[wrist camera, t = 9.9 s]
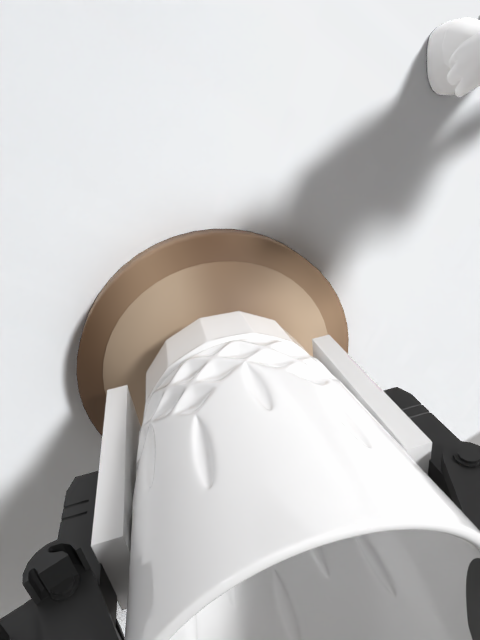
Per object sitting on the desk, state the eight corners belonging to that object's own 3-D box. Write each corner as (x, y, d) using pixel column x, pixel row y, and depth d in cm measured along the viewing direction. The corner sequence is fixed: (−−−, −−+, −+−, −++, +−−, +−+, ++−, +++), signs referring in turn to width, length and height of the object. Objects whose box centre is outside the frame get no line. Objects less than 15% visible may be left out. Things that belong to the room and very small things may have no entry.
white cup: (332, 415, 19) (507, 667, 10) (174, 483, 18) (210, 813, 9) (291, 264, 15) (511, 450, 6) (91, 344, 15) (25, 668, 6)
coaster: (123, 484, 21) (122, 504, 19) (37, 262, 15) (29, 272, 14) (340, 422, 22) (351, 438, 21) (332, 203, 17) (346, 209, 16)
